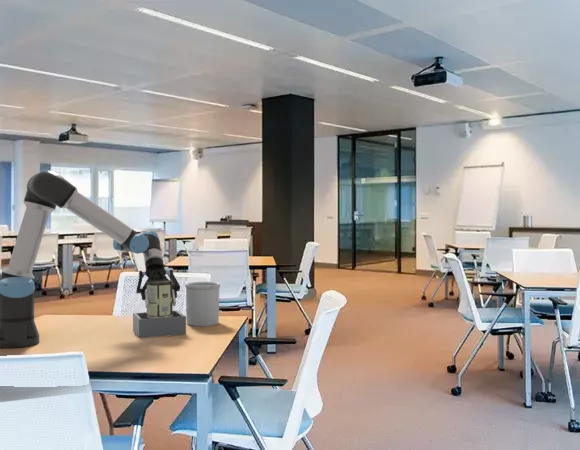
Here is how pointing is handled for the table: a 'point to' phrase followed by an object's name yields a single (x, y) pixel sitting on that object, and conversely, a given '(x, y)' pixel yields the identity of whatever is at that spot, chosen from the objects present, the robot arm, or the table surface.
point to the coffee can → (159, 298)
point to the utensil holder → (202, 303)
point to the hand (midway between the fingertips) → (161, 305)
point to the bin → (159, 325)
